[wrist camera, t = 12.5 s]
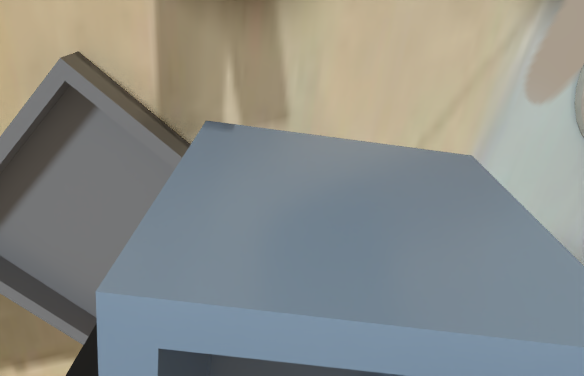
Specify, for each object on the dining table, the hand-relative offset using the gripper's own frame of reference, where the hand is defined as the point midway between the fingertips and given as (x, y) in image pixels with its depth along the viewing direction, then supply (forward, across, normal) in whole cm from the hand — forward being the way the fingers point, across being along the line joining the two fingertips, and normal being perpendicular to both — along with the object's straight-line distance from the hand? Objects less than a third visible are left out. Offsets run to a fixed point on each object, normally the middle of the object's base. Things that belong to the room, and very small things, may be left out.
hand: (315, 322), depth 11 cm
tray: (+25, +13, +12) cm, 31 cm away
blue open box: (+1, 0, 0) cm, 1 cm away
